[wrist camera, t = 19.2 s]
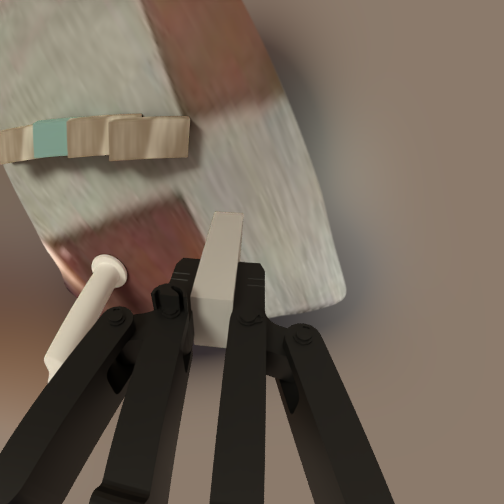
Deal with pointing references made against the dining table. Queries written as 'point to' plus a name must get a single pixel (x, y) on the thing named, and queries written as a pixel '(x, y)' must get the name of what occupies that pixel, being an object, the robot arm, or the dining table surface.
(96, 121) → the tile
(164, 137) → the tile
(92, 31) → the dining table surface
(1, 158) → the tile
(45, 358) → the white post
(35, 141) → the tile
